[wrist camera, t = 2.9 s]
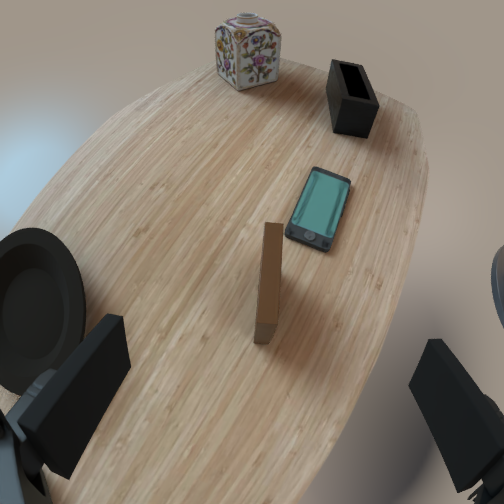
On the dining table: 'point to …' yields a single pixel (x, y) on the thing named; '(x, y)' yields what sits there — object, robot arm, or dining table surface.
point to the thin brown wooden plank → (269, 283)
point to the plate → (37, 306)
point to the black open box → (350, 99)
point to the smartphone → (319, 209)
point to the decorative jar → (247, 51)
